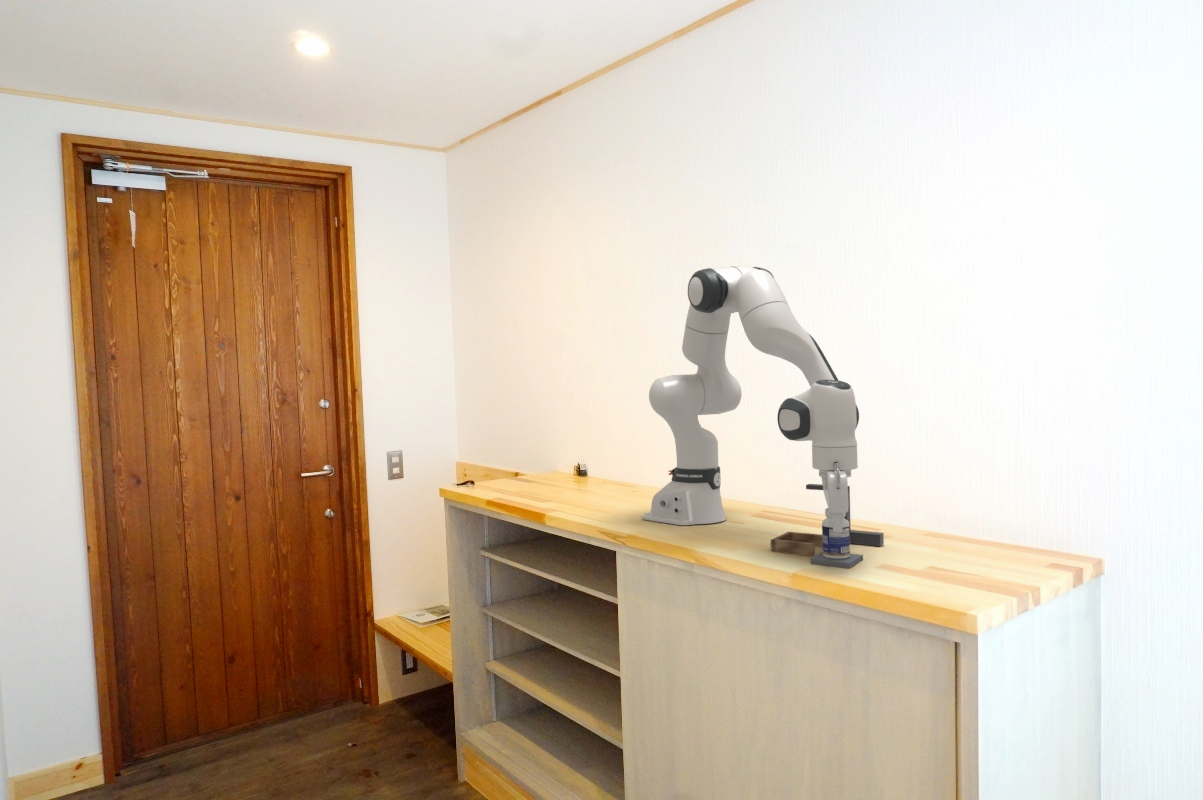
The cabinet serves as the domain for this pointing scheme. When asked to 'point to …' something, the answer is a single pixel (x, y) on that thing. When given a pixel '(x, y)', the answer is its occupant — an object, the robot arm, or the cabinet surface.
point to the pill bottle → (835, 538)
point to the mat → (837, 561)
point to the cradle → (797, 543)
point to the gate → (856, 535)
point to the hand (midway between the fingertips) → (836, 527)
